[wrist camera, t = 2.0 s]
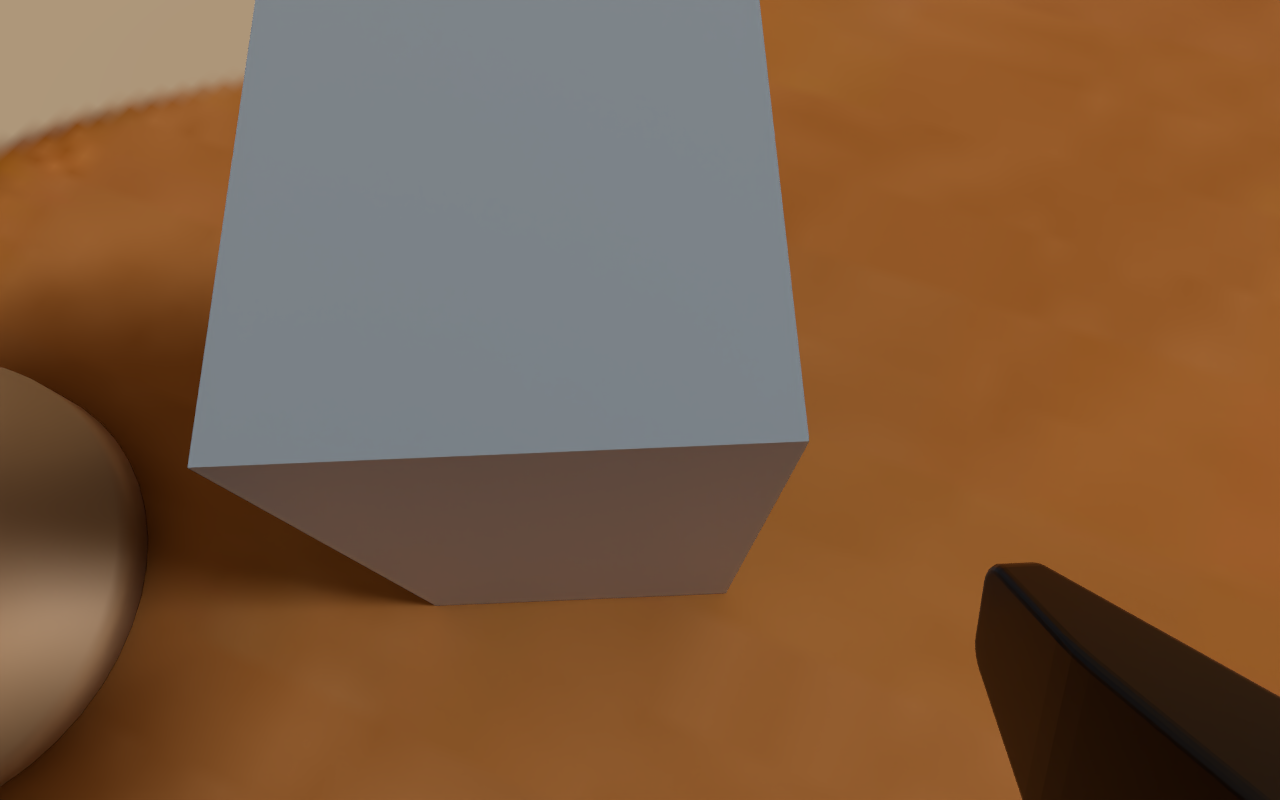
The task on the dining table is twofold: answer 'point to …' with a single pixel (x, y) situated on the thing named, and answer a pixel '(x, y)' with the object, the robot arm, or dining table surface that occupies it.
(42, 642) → the post stand
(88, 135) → the dining table surface
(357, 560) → the tall grey-blue carton
